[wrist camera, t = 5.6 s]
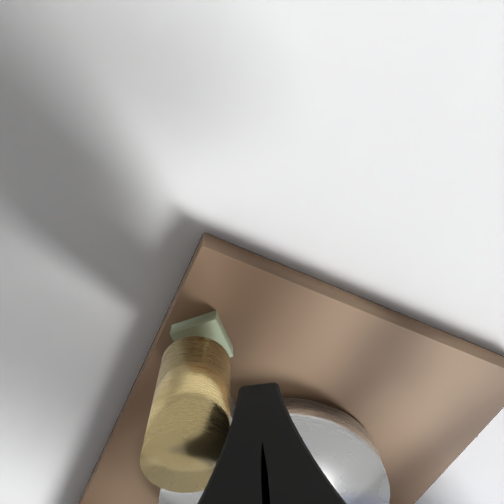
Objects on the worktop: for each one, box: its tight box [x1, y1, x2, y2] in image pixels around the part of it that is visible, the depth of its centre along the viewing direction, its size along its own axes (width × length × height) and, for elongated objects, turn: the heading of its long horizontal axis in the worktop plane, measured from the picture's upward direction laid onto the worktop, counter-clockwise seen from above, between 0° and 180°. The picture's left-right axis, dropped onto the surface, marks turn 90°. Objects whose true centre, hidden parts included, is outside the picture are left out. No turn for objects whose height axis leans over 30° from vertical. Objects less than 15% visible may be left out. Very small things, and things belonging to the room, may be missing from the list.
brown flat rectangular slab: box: [78, 233, 504, 504], centre depth 20 cm, size 15×19×2 cm
